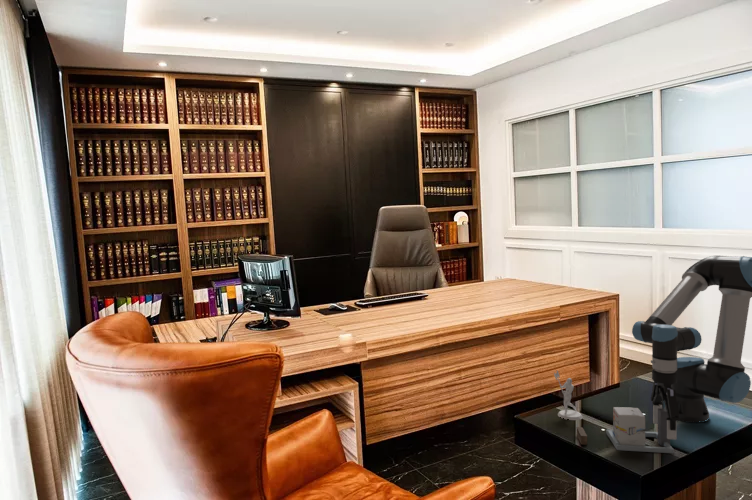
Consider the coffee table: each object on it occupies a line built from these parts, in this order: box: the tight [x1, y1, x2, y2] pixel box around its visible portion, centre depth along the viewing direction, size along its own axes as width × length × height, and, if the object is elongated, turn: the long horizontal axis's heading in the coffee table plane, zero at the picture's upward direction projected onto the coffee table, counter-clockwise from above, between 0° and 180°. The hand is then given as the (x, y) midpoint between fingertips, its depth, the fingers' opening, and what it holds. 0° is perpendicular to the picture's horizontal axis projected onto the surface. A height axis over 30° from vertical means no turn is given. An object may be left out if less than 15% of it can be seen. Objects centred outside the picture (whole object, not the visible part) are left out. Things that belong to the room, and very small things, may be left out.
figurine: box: [553, 370, 584, 421], centre depth 206 cm, size 10×10×18 cm
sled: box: [605, 408, 675, 454], centre depth 179 cm, size 18×14×12 cm
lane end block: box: [576, 426, 588, 446], centre depth 183 cm, size 2×8×3 cm, turn 169°
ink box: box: [612, 406, 646, 446], centre depth 179 cm, size 9×8×12 cm
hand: (664, 431), depth 177 cm, fingers open, 13 cm apart
